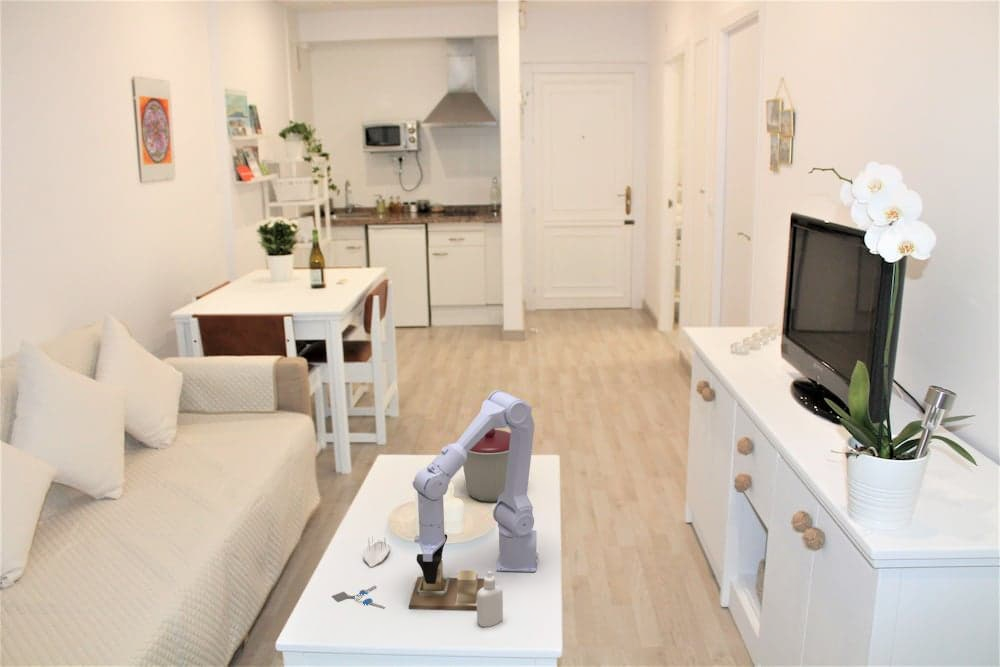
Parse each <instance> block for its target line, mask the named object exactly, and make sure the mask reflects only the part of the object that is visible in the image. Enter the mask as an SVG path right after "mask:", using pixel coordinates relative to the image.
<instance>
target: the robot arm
mask: <svg viewBox="0 0 1000 667" xmlns="http://www.w3.org/2000/svg"><path fill="white" fill-rule="evenodd" d="M532 409H533V408H532V406H530V405H529V403H528V402H527V401H525V400H524V399H522V398H521V399H520V398H518V397H516V396H514V395H511V394H510V393H507V392H506V391H504V390H501V389H498V390H497V389H496V390H494V391H492V392H491V393H490V394H488V397H487V399H485V400H484V401H483V402H482V405H481V408H480V411H479V413H478V414H477V415H476V416H475V417H474V419H473V421H471V422H470V424H469V426H467V428H466V429H465V430H464V432H463V433H462V434H461V436H460V438H458V440H457V441H456V442H453V443H448V444H447V445H446V446H443V447H442V448H441V450H440V453H439V454H438V455H437V456H436V457H435V458H434V459H433V460H432V462H431V463H429V464H428V465H427V466H426V467H425V468H424V469H423V468H422V469H421V470H419V471H418V472H417V473H416V474H415V477H414V480H413V481H412V484H411V485H412V487H413V489H414V490H416V493H417V505H418V508H417V509H418V511H417V512H418V533H419V534H418V535H415V536H414V538H413V540H414V543H418V544H419V546H420V549H421V550H422V554H421V553H418V554H417V555H416V562H417V564H418V565H419V568H421V571H422V575H423V574H424V578H425V581H426V584H435V582H436V578H437V570H438V566H439V564H440V562H441V560H443V551H444V547H445V545H446V542H447V539H448V535H447V534H446V533H445V517H444V516H445V514H444V513H445V512H444V509H445V508H444V496H445V495H446V493H447V492H448V490H449V485H450V483H451V479H452V478H453V477H454V476H455V475H456V474H457V473H458V472H459V471H460V470H461V468H463V465H464V463H465V462H466V461H467V452H468V451H469V450H470V449H471V448H472V447H473V446H474V445H475V444H476V443H477V442H478V441H479V440H480V439H482V438H483V437H484V436H485V435H486V434H487V433H488V432H489V431H490V430H491V429H495V430H496V429H504V428H508V429H509V430H510V433H511V435H510V444H509V454H508V463H507V472H506V481H505V490H504V492H503V493H502V494H500V495H499V496H498V501H496V504H495V506H494V508H493V511H492V516H493V520H494V521H495V522H496V523H497V527H498V552H499V553H498V557H497V564H496V571H497V572H517V573H518V572H519V573H521V572H524V573H525V572H526V573H533V572H534V573H535V572H536V571H537V560H538V556H539V554H538V552H537V530H534V529H533V528H534V525H535V517H534V514H533V508H534V507H533V504H532V502H531V500H530V499H529V498H530V497H529V496H528V495H527V494H528V489H529V488H528V486H529V478H530V470H531V461H532V460H531V459H532V451H533V444H534V443H533V441H534V434H535V433H534V432H535V422H534V419H533V416H532Z"/></svg>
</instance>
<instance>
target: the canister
mask: <svg viewBox="0 0 1000 667" xmlns="http://www.w3.org/2000/svg"><path fill="white" fill-rule="evenodd" d="M510 435H511V432H508V431H505V430H501V429H496V428H495V429H491V430H490V431H489V432H488V433H487V434H486V435H485V436H484V437H483V438H482V439H480V440H479V441H478V442H477V443H476V444H475V445H474V446H473V447H472V448H471V449H470V450H469V451H468V452H467V461H466V462H465V463H464V465H463V466H462V468H463V473H464V479H465V485H466V486H465V487H466V490H467V492H468V494H469V495H470V496H471V497H472V498H473V499H476V500H477V499H478V500H477V501H481V502H489V503H490V502H497V501H498V496H499V495H500V494H502V493H503V492H504V490H505V481H506V472H507V463H508V454H509V444H510Z"/></svg>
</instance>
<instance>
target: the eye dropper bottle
mask: <svg viewBox="0 0 1000 667" xmlns="http://www.w3.org/2000/svg"><path fill="white" fill-rule="evenodd" d="M483 579H484V587H482V588H481V589H480V590H479V591H478V592H477V611H476V622H477V624H478V625H479V626H480V627H482V628H487V627H493V626H495V625H498V624H499V623H501V622H502V621H503V620H504V619H503V618H504V602H503V601H504V600H503V597H504V596H503V588H501V587H500V586H499V585H497V584H496V578H495V576H494V575H492V571H489V570H488V571H487V573H486V575H485V576H484V577H483Z"/></svg>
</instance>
